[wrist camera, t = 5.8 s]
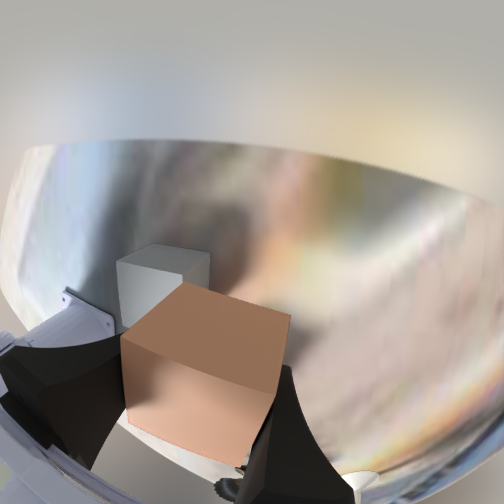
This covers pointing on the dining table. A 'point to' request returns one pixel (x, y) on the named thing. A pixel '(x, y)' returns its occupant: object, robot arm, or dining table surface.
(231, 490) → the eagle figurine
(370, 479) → the champagne flute
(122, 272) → the slate grey block
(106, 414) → the robot arm
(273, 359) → the terracotta block
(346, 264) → the dining table surface
